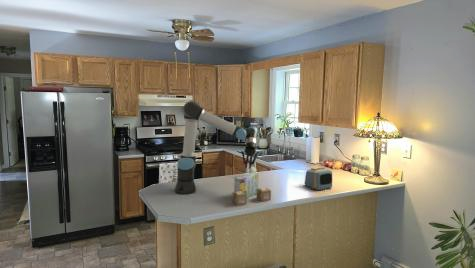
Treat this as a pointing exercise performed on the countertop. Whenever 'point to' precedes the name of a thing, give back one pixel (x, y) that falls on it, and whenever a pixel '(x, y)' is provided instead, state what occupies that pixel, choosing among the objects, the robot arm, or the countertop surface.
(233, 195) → the walnut block
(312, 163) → the countertop surface
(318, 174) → the alarm clock
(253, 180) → the snack box
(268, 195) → the walnut block
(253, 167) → the toy
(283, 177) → the countertop surface
